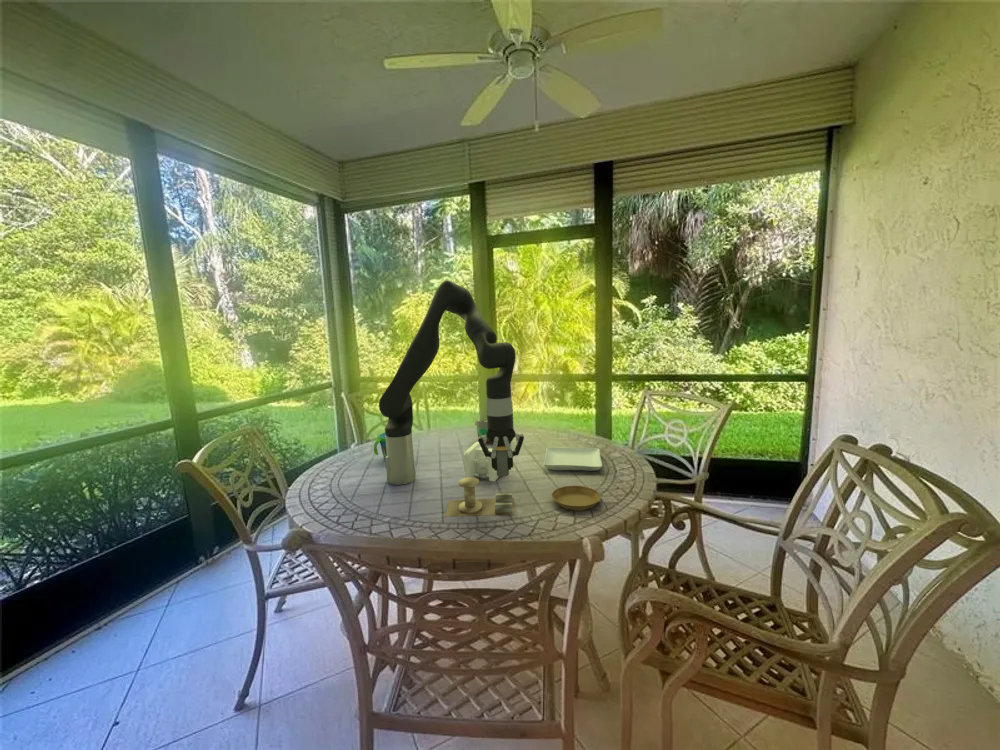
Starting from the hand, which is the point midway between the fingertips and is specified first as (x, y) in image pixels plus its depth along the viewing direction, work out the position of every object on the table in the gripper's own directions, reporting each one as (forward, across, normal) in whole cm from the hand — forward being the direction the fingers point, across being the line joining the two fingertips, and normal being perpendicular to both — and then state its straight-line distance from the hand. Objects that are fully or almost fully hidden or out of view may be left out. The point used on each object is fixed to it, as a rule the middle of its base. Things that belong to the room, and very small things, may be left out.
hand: (502, 468), depth 128 cm
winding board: (+13, +7, 0) cm, 15 cm away
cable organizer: (+13, +7, -27) cm, 31 cm away
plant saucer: (+13, -22, -4) cm, 26 cm away
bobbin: (+12, +10, 0) cm, 15 cm away
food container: (+13, +8, -69) cm, 71 cm away
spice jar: (+2, 0, 0) cm, 2 cm away
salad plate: (+14, -26, -38) cm, 48 cm away
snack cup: (+13, +47, -52) cm, 71 cm away
